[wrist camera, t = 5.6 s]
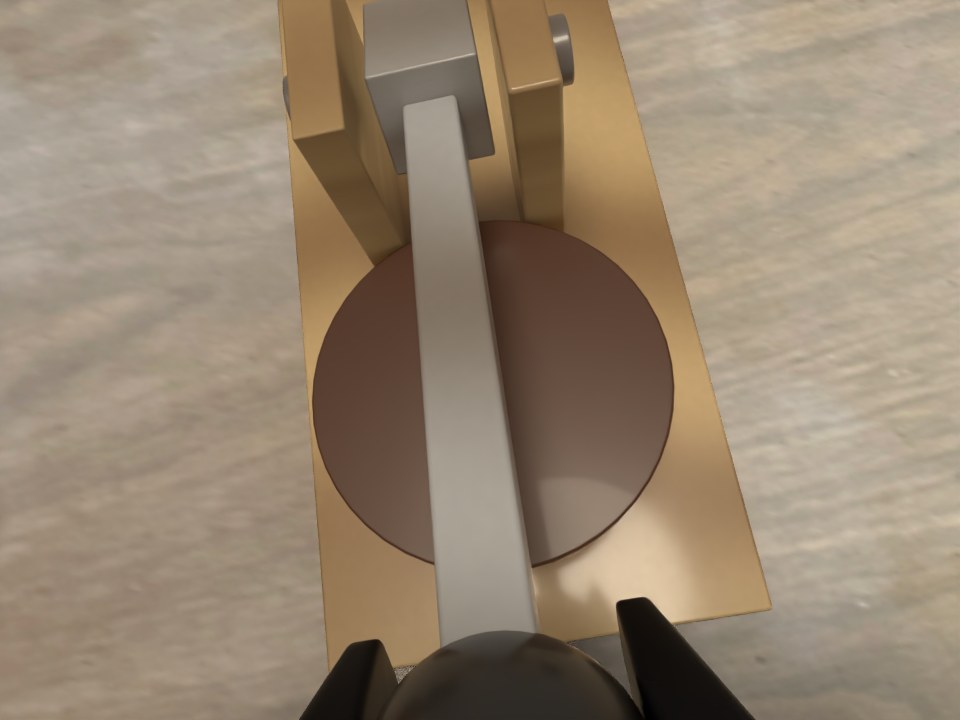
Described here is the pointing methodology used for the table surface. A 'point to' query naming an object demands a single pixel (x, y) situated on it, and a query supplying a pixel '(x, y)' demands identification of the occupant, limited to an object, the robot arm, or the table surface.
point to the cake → (527, 385)
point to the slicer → (533, 199)
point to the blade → (466, 397)
